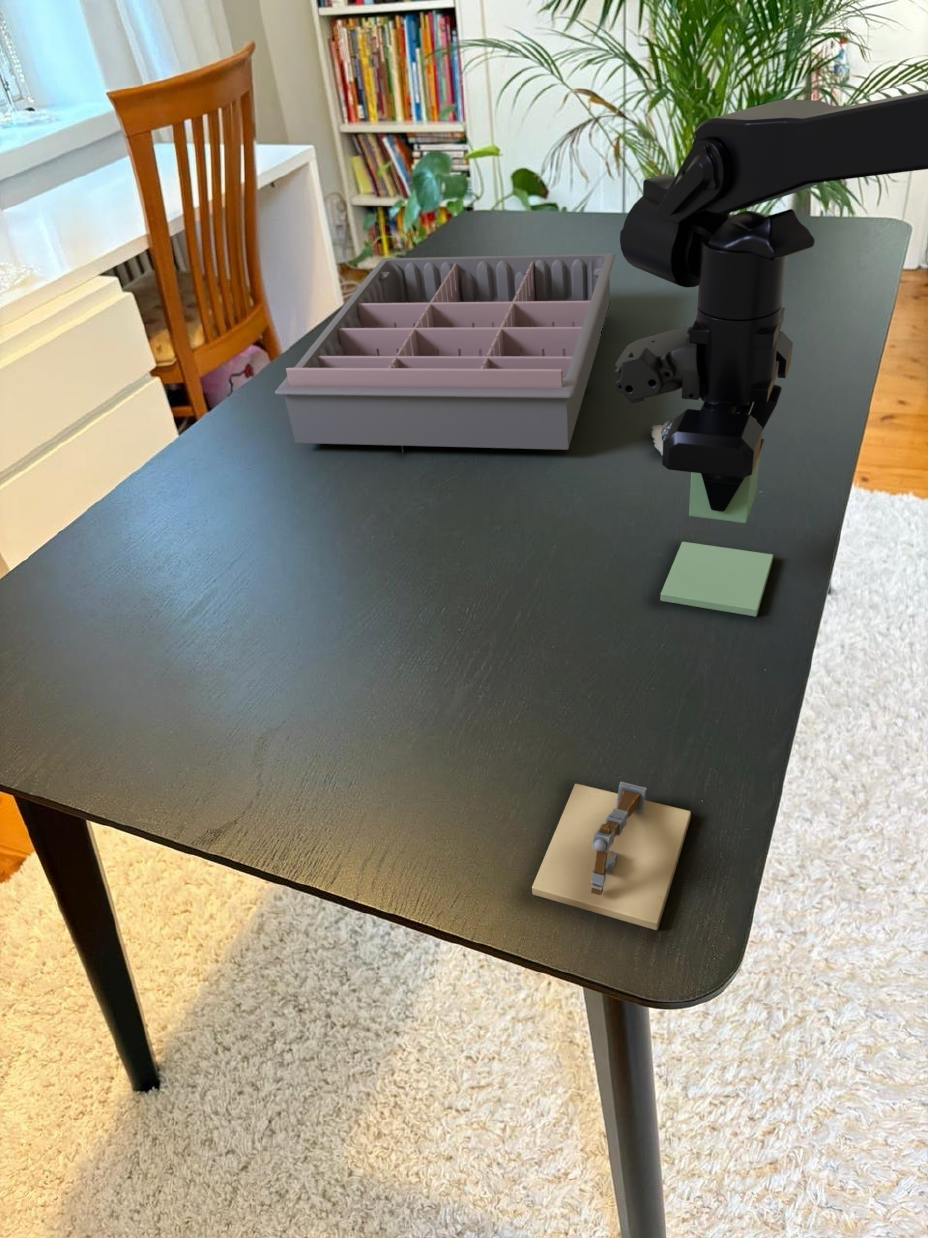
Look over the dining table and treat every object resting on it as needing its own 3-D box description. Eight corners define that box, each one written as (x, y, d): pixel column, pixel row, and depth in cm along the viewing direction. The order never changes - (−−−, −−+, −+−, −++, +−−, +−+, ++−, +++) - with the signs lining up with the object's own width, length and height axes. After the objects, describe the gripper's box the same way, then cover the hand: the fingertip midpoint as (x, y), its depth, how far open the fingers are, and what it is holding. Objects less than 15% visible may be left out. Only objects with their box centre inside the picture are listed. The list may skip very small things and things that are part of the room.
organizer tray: (616, 312, 131) (615, 237, 125) (574, 465, 101) (571, 376, 95) (389, 314, 139) (378, 243, 132) (289, 457, 109) (269, 374, 103)
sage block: (756, 493, 80) (761, 444, 77) (746, 523, 76) (751, 474, 74) (700, 486, 81) (703, 439, 78) (688, 516, 78) (691, 467, 75)
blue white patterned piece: (693, 419, 106) (693, 403, 105) (733, 451, 100) (734, 435, 99) (637, 435, 105) (637, 419, 104) (675, 468, 99) (675, 452, 98)
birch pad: (690, 818, 65) (691, 810, 64) (657, 931, 59) (657, 923, 58) (575, 790, 68) (575, 782, 67) (532, 895, 61) (531, 887, 61)
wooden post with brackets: (576, 897, 59) (585, 831, 58) (612, 839, 66) (620, 778, 65) (605, 906, 58) (614, 839, 57) (638, 846, 65) (647, 785, 64)
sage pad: (772, 561, 85) (773, 554, 85) (756, 617, 80) (757, 609, 79) (681, 548, 88) (682, 541, 88) (660, 601, 83) (660, 593, 82)
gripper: (658, 253, 78) (653, 428, 88) (589, 352, 65) (593, 544, 75) (803, 259, 74) (781, 441, 84) (761, 365, 61) (741, 566, 71)
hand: (724, 493), depth 78 cm, fingers closed on sage block, 4 cm apart
